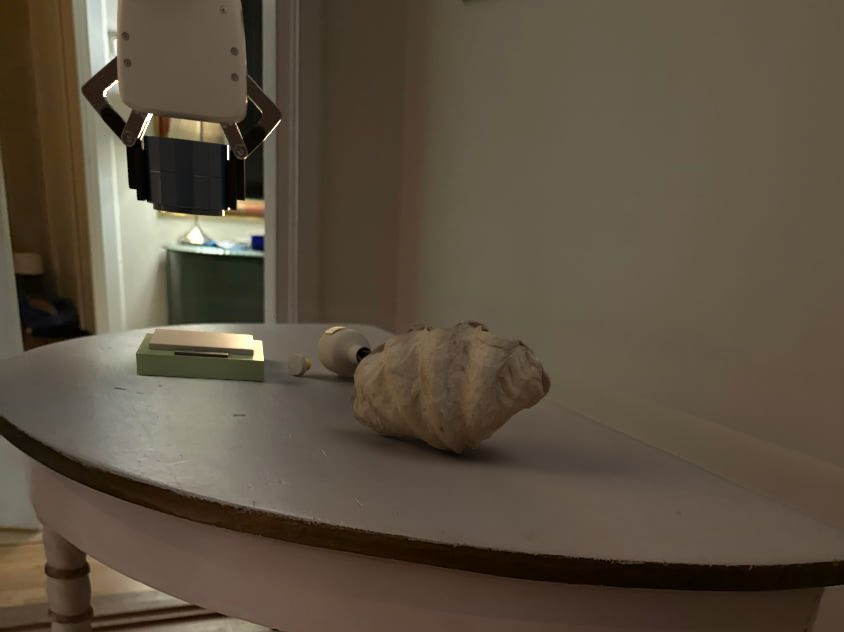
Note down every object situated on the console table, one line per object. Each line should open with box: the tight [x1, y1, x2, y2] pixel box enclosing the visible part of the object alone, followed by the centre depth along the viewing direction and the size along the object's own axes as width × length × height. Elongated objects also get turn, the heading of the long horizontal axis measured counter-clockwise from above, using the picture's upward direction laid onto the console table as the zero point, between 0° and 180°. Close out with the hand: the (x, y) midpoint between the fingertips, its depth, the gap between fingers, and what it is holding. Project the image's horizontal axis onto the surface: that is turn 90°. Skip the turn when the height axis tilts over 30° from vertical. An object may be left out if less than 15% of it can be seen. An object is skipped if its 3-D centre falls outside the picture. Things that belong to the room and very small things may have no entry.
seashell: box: [350, 319, 552, 454], centre depth 73 cm, size 10×15×10 cm
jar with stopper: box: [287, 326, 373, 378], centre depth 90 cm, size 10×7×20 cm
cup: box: [142, 134, 230, 217], centre depth 78 cm, size 7×7×6 cm
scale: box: [135, 328, 265, 382], centre depth 94 cm, size 12×12×3 cm
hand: (188, 203), depth 79 cm, fingers closed on cup, 6 cm apart
